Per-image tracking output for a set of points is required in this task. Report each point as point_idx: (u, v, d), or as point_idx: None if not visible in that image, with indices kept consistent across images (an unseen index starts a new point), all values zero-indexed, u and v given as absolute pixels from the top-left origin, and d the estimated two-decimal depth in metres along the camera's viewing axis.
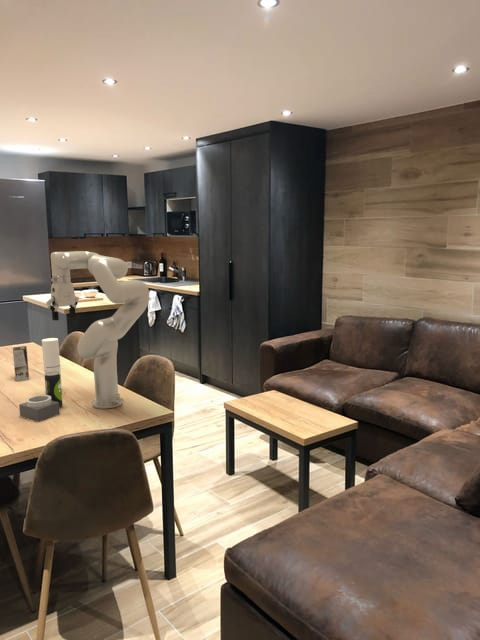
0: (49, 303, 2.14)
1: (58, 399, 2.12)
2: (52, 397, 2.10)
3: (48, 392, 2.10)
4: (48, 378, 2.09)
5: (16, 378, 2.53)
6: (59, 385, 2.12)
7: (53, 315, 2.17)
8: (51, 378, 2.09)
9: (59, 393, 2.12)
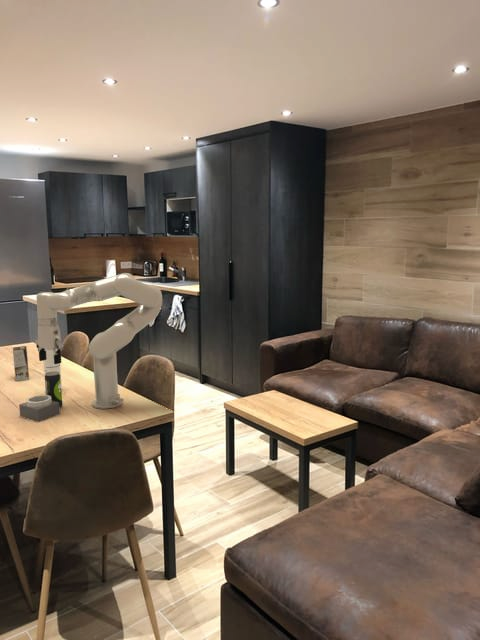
0: None
1: (58, 399, 2.12)
2: (52, 397, 2.10)
3: (48, 392, 2.10)
4: (48, 378, 2.09)
5: (16, 378, 2.53)
6: (59, 385, 2.12)
7: (59, 358, 2.07)
8: (51, 378, 2.09)
9: (59, 393, 2.12)
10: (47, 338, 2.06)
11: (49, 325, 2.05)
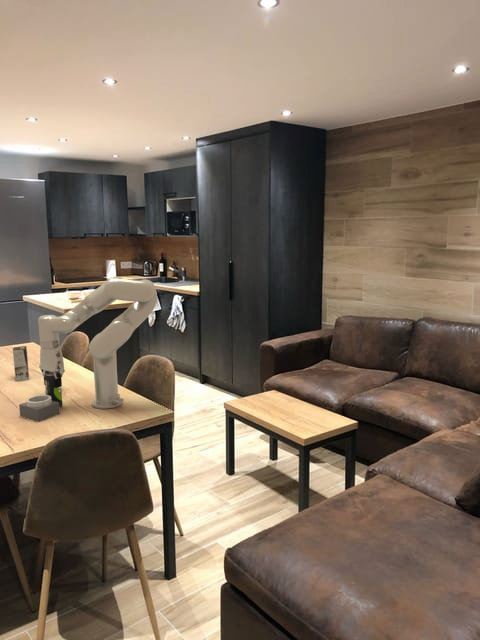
0: None
1: (58, 399, 2.12)
2: (52, 397, 2.10)
3: (48, 392, 2.10)
4: (48, 378, 2.09)
5: (16, 378, 2.53)
6: None
7: (59, 382, 2.10)
8: (51, 378, 2.09)
9: (59, 393, 2.12)
10: (49, 361, 2.07)
11: (51, 348, 2.06)
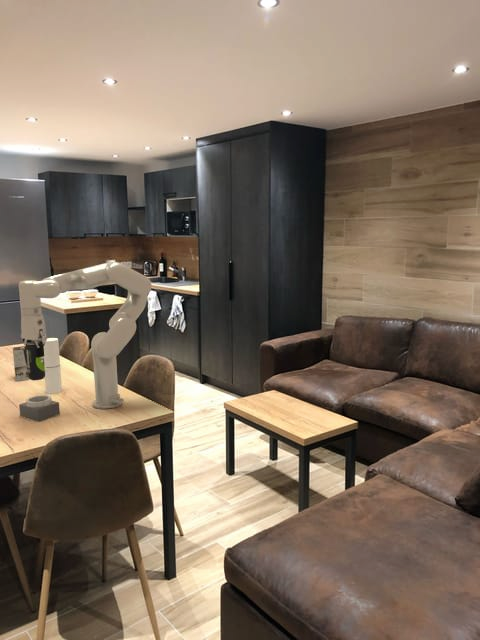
0: None
1: (41, 370, 2.00)
2: (34, 367, 1.98)
3: (29, 362, 1.98)
4: (29, 347, 1.97)
5: (16, 378, 2.53)
6: None
7: (41, 351, 1.98)
8: (33, 347, 1.97)
9: (41, 363, 2.00)
10: (31, 328, 1.95)
11: (32, 315, 1.94)
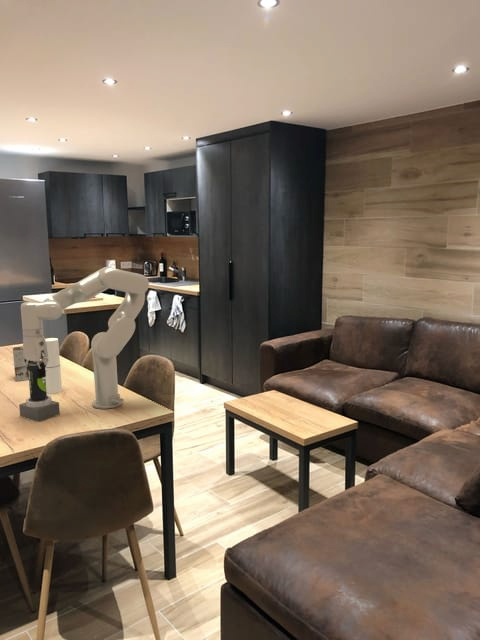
0: None
1: (42, 390, 2.01)
2: (35, 388, 1.99)
3: (31, 383, 1.99)
4: (31, 368, 1.98)
5: (16, 378, 2.53)
6: None
7: (43, 372, 1.99)
8: (34, 368, 1.98)
9: (43, 384, 2.01)
10: (32, 350, 1.97)
11: (34, 336, 1.96)
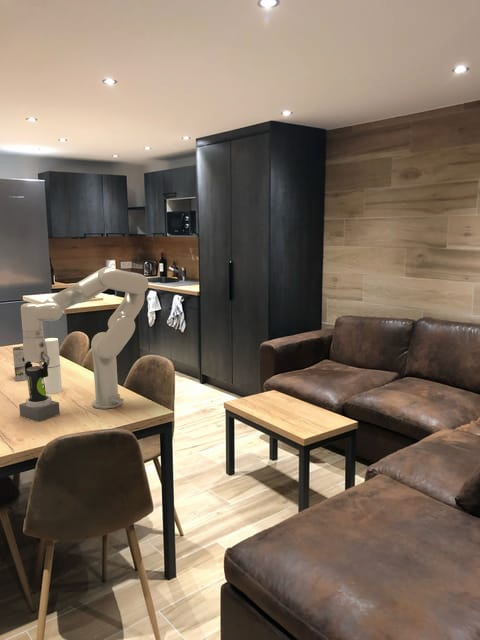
0: None
1: (42, 395, 2.01)
2: (35, 393, 1.99)
3: (31, 388, 1.99)
4: (30, 373, 1.98)
5: (16, 378, 2.53)
6: (42, 380, 2.01)
7: (45, 372, 1.98)
8: (33, 373, 1.98)
9: (42, 389, 2.01)
10: (32, 351, 1.97)
11: (34, 337, 1.96)
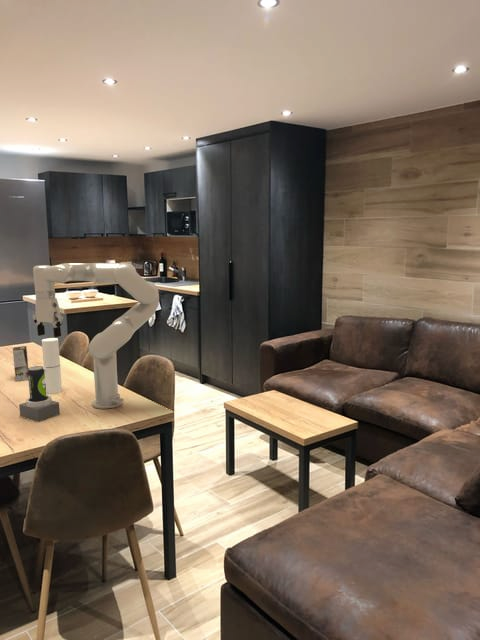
0: None
1: (42, 395, 2.01)
2: (36, 393, 2.00)
3: (31, 388, 1.99)
4: (31, 373, 1.98)
5: (16, 378, 2.53)
6: (43, 380, 2.01)
7: (58, 331, 2.06)
8: (34, 373, 1.98)
9: (43, 389, 2.01)
10: (46, 311, 2.04)
11: (47, 298, 2.03)
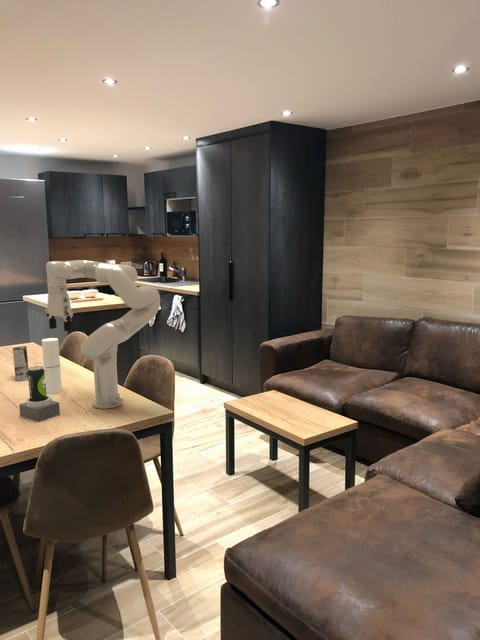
0: None
1: (42, 395, 2.01)
2: (36, 393, 2.00)
3: (31, 388, 1.99)
4: (31, 373, 1.98)
5: (16, 378, 2.53)
6: (43, 380, 2.01)
7: (68, 325, 2.13)
8: (34, 373, 1.98)
9: (43, 389, 2.01)
10: (57, 305, 2.12)
11: (59, 293, 2.11)
